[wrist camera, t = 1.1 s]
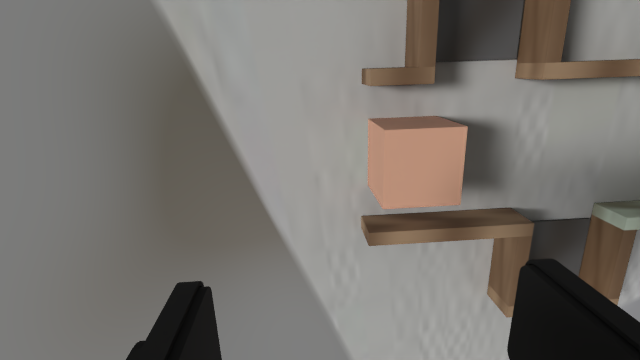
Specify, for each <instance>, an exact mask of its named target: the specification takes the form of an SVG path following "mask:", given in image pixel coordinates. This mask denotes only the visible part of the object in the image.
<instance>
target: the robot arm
mask: <svg viewBox="0 0 640 360" xmlns="http://www.w3.org/2000/svg"><path fill="white" fill-rule="evenodd" d="M507 350H508V356H509V359H510V360H640V322H638V321H637V320H636V319H634V318H633V317H632V316H630V315H629V314H628V313H626V312H625V311H624V310H622V309H621V308H620V307H618V306H617V305H616V304H614V303H613V302H612V301H610V300H609V299H608V298H606V297H605V296H604V295H602V294H601V293H600V292H598V291H597V290H596V289H594V288H593V287H592V286H590V285H589V284H588V283H586V282H585V281H584V280H582V279H581V278H579V277H578V276H577V275H575V274H574V273H573V272H571V271H570V270H569V269H567V268H566V267H565V266H563V265H562V264H561V263H559V262H558V261H557V260H555V259H552V258H547V259H532V260H528V261H527V262H526V264H525V266H522V267H521V268H520V271H519V278H518V284H517V290H516V297H515V303H514V309H513V316H512V322H511V328H510V335H509V341H508V349H507ZM126 360H222V358H221V351H220V345H219V338H218V331H217V324H216V318H215V311H214V304H213V298H212V291H211V288H210V287H204V285H203V283H202V282H201V281H195V282H180V283H177V285H176V286H175V288H174V290H173V291H172V293H171V295H170V297H169V299H168V301H167V302H166V304H165V306H164V308H163V310H162V311H161V313H160V315H159V317H158V319H157V321H156V322H155V324H154V326H153V328H152V330H151V332H150V333H149V335H148V337H147V339H146V341H139V342H138V343H136V345H135V346H134V347H133V348H132V350H131V352H130V354H129V355H128V357H127V359H126Z"/></svg>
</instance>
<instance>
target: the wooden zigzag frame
mask: <svg viewBox="0 0 640 360" xmlns="http://www.w3.org/2000/svg"><path fill="white" fill-rule="evenodd" d="M570 3H571V0H525V5H524V13H523V20H522V28H521V36H520V44H519V51H518V43H519V35H520V27H521V19H522V12H523V4H524V0H407V27H406V53H405V67H398V68H369V69H362V84H365V85H369V86H383V85H410V84H434V79H435V63H436V62H441V61H470V60H499V59H516V58H517V51H518V59H517V67H516V75H515V78H522V79H542V80H544V79H571V78H598V77H625V76H640V59H629V60H600V61H571V62H561V58H562V52H563V46H564V40H565V34H566V28H567V22H568V16H569V9H570ZM590 220H591V221H590ZM361 228H362V230H363V233H364V235H365V238H366V240H367V243H368V245H369V246H376V245H392V244H409V243H425V242H442V241H458V240H475V239H491V238H494V245H493V253H492V261H491V269H490V276H489V284H488V292H487V295H488V296H489V297H490V298H491V299H492V300H493V302H494V303H495V304H496V305H497V306H498V308H499V309H500V310H501V311H502V312H503V314H504V315H505V316H506V317H512V316H513V309H514V303H515V297H516V290H517V284H518V278H519V271H520V268H521V267H522V266H525V264H526V262H527V261H528V260H532V259H547V258H552V259H555V260H557V261H558V262H559V263H561V264H562V265H563V266H565V267H566V268H567V269H569V270H570V271H571V272H573V273H574V274H575V275H577V276H578V275H579V276H578V277H579V278H581V279H582V280H584V281H585V282H586V283H588V284H589V285H590V286H592V287H593V288H594V289H596V290H597V291H598V292H600V293H601V294H602V295H604V296H605V297H606V298H608V299H609V300H610V301H612V302H613V303H614V304H616V305H617V304H618V300H619V296H620V292H621V289H622V285H623V281H624V277H625V273H626V269H627V266H628V262H629V258H630V254H631V250H632V247H633V243H634V239H635V235H636V231H637V230H640V201H622V202H604V203H594V207H593V211H592V216H591V219H590V218H580V219H563V220H545V221H530V220H528V219H527V218H525V217H524V216H522V215H521V214H519V213H518V212H516V211H515V210H513V209H512V208H497V209H479V210H462V211H444V212H426V213H408V214H390V215H373V216H362V217H361ZM588 229H589V230H588ZM587 234H588V235H587ZM586 238H587V239H586ZM585 243H586V244H585ZM583 252H584V253H583ZM582 257H583V258H582ZM580 266H581V267H580ZM579 271H580V272H579Z"/></svg>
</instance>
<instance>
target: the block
mask: <svg viewBox="0 0 640 360" xmlns="http://www.w3.org/2000/svg"><path fill="white" fill-rule="evenodd" d="M467 129H468V127H467V126H465V125H462V124H459V123H456V122H453V121H450V120H447V119H444V118H441V117H438V116H423V117H399V118H375V119H368V186H369V187H370V189H371V191H372V192H373V194H374V196H375V197H376V199H377V200H378V202H379V204H380V205H381V207H382V208H383V209H394V208H412V207H430V206H448V205H460V203H461V193H462V182H463V171H464V161H465V150H466V139H467Z"/></svg>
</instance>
